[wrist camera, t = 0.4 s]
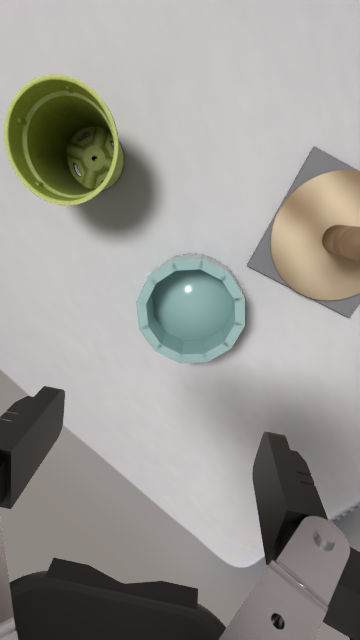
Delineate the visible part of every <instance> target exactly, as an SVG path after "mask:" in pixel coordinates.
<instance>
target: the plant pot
mask: <svg viewBox="0 0 360 640" xmlns="http://www.w3.org/2000/svg"><path fill="white" fill-rule="evenodd" d="M84 133H89V134H90V136H87V137H85V138H84V139H82V140H81V141H78V140H79V137H81V136H82V135H83V134H84ZM110 141H111V142H113V143H114V149H113V147H112V145H111V143H110ZM4 142H5V148H6V152H7V155H8V158H9V161H10V163H11V166H12V167H13V169H14V171H15V173H16V174H17V176H18V178H19V179H20V180H21V181H22V183H23V184H24V185H25V186H26V187H27V188H28V189H29V190H30V191H32V192H33V193H34V194H35V195H37V196H38V197H40V198H42V199H44V200H46V201H48V202H51V203H54V204H58V205H78V204H81V203H84V202H87V201H89V200H91V199H93V198H94V197H95V196H97V195H98V194H99V193H100V192H101V191H102V190H103V189H107V188H109V187H110V186H112V185H113V184H114V183H115V182H116V181H117V180H118V179H119V177H120V175H121V172H122V169H123V163H124V156H123V151H122V147H121V145H120V143H119V140H118V133H117V129H116V125H115V122H114V119H113V117H112V114H111V113H110V111H109V109H108V107H107V105H106V104H105V102H104V101H103V100H102V99H101V97H100V96H99V95H98V94H97V93H96V92H95V91H94V90H93V89H92V88H90V87H89V86H88V85H87V84H85V83H83V82H82V81H80V80H78V79H76V78H73V77H70V76H66V75H59V74H51V75H44V76H40V77H38V78H35V79H33V80H32V81H30V82H29V83H27V84H26V85H24V86H23V87H22V88H21V89H20V90H19V92H18V93H17V94H16V95H15V97H14V98H13V100H12V101H11V103H10V105H9V108H8V112H7V114H6V118H5V124H4ZM93 156H96V157H97V160H96V161H93V160H92V157H93ZM74 163H75V164H76V166H77V168H78V170H79V172H80V173H81V176H79V175H77V173H76V172H75V170H74V166H73V164H74ZM101 181H103V182H102V183H101Z"/></svg>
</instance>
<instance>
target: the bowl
mask: <svg viewBox="0 0 360 640" xmlns="http://www.w3.org/2000/svg"><path fill="white" fill-rule="evenodd" d="M136 305H137V314H138V323H139V330H140V331H141V333H142V334H143V335H144V337H145V338H146V339H147V341H148V342H149V343H150V345H151V346H152V348H153V349H154V350H155V351H156V352H158V353H160V354H162V355H164V356H166V357H168V358H170V359H172V360H174V361H176V362H178V363H202V362H209V361H210V360H212V359H214V358H216V357H218V356H219V355H221V354H223V353H225V352H226V351H228V350H230V349H231V348H232V346H233V345H234V343H235V341H236V340H237V338H238V336H239V335H240V333H241V331H242V330H243V328H244V326H245V297H244V294H243V292H242V290H241V288H240V286H239V285H238V283H237V281H236V280H235V278H234V276H233V275H232V273H231V272H230V270H229V269H228V267H227V266H226V265H224V264H222V263H221V262H219V261H217V260H216V259H214V258H212V257H209V256H206V255H204V254H183V255H177V256H174V257H173V258H171V259H170V260H168V261H166V262H165V263H164V264H162V265H161V266H160V267H158V268H157V269H155V270H154V271H153V272H152V273H151V274H150V275H149V276H148V278H147V280H146V282H145V284H144V286H143V289H142V291H141V293H140V295H139V297H138V299H137V302H136Z"/></svg>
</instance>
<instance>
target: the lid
mask: <svg viewBox="0 0 360 640" xmlns="http://www.w3.org/2000/svg"><path fill="white" fill-rule="evenodd" d="M270 251H271V256H272V260H273V263H274V266H275V268H276V270H277V272H278V273H279V275H280V276H281V278H282V279H283V280H284V281H285V282H286V283H287V284H288V285H289V286H290V287H291V288H293V289H294V290H295V291H297V292H299V293H300V294H302V295H305V296H307V297H310V298H313V299H318V300H340V299H344V298H348V297H351V296H354V295H357V294H359V293H360V171H355V170H338V171H332V172H328V173H325V174H321V175H319V176H317V177H314V178H312V179H310V180H308V181H307V182H305V183H303V184H302V185H301V186H299V187H298V188H297V189H296V190H295V191H294V192H293V193H291V194H290V195H289V197H288V198H287V199H286V200H285V202H284V203H283V204H282V206H281V208H280V209H279V211H278V213H277V215H276V217H275V220H274V223H273V226H272V230H271V237H270Z"/></svg>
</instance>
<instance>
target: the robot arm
mask: <svg viewBox="0 0 360 640" xmlns="http://www.w3.org/2000/svg"><path fill="white" fill-rule="evenodd" d="M64 400H65V391H64V390H62V389H57V388H52V387H47V386H44V387H43V388H42V389H41V390H40V391H39V392H38V393H37V394H36V395H35V396H34V397H30V396H27V397H25V398H23V399H21V400H19V401H17V402H15V403H14V404H13V405H12V406H11V407H10V408H9V409H8V410H7V411H6V413H4V414H3V415H2V416H1V417H0V507H4V508H8V509H11V508H12V507H13V505H14V504H15V502H16V501H17V499H18V498H19V496H20V495H21V493H22V492H23V490H24V488H25V487H26V485H27V484H28V482H29V481H30V479H31V478H32V476H33V475H34V473H35V472H36V470H37V469H38V467H39V466H40V464H41V463H42V461H43V460H44V458H45V457H46V455H47V454H48V452H49V451H50V449H51V448H52V446H53V444H54V443H55V442H56V440H57V438H58V437H59V435H60V432H61V429H62V425H63V415H64ZM253 484H254V490H255V496H256V503H257V509H258V515H259V521H260V528H261V534H262V540H263V547H264V553H265V559H266V564H267V565H269V566H268V567H267V569H266V570H265V571H264V573H263V574H262V576H261V578H260V579H259V580H258V582H257V583H256V585H255V586H254V588H253V589H252V591H251V592H250V594H249V595H248V597H247V598H246V600H245V601H244V603H243V604H242V606H241V607H240V609H239V610H238V611H237V613H236V614H235V616H234V617H233V619H232V620H231V622H230V623H229V625H228V626H227V628H226V627H225V626H224V624H223V623H222V622H221V621H220V620H219V619H218V618H217V617H216V616H215V615H214V614H213V613H211V612H210V611H209V610H208V609H206V608H205V607H203V606H202V605H200V604H198V603H197V599H198V589H196V588H192V587H187V586H182V585H178V584H173V583H169V582H163V581H157V582H144V583H130V584H123V583H120V582H118V581H116V580H115V579H113V578H111V577H109V576H107V575H105V574H104V573H102V572H100V571H98V570H96V569H95V568H93V567H91V566H89V565H85V564H80V563H76V562H71V561H66V560H62V559H57V558H53V561H52V563H51V565H50V567H49V570H48V571H42V572H36V573H32V574H29V575H26V576H23V577H21V578H18V579H16V580H14V581H12V582H10V583H9V577H8V569H7V562H6V554H5V547H4V539H3V531H2V523H1V516H0V640H315V639H316V636H317V634H318V632H319V629H320V627H321V624H322V622H324V623H326V624H327V625H329V626H331V627H332V628H334V629H336V630H338V631H339V632H341V633H343V634H344V635H346V636H348V637H349V638H350V640H360V552H358V551H356V550H355V549H353V548H351V547H350V545H349V543H348V540H347V539H346V537H345V535H344V534H343V533H342V532H341V530H340V529H339V528H337V526H335V525H334V524H333V523H331V522H330V521H328V518H327V516H326V513H325V510H324V508H323V505H322V503H321V500H320V497H319V495H318V492H317V489H316V487H315V486H314V481H313V479H312V476H311V473H310V471H309V468H308V466H307V463H306V462H305V460H304V459H303V458H302V457H301V456H300V454H299V453H298V452H297V451H292V450H290V448H289V445H288V442H287V439H286V437H285V435H280V434H275V433H271V432H264V434H263V436H262V439H261V442H260V446H259V449H258V452H257V455H256V458H255V461H254V466H253Z"/></svg>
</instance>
